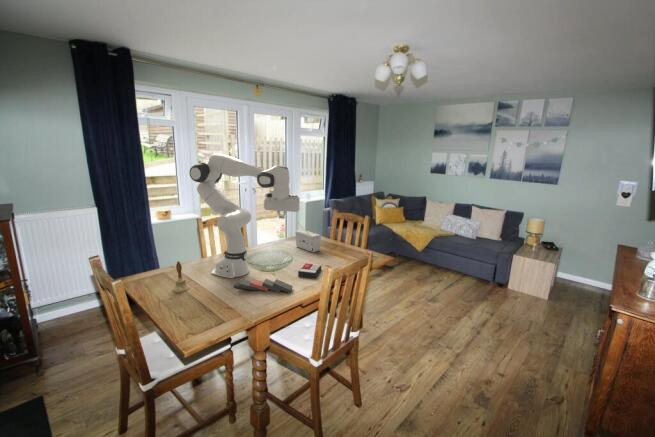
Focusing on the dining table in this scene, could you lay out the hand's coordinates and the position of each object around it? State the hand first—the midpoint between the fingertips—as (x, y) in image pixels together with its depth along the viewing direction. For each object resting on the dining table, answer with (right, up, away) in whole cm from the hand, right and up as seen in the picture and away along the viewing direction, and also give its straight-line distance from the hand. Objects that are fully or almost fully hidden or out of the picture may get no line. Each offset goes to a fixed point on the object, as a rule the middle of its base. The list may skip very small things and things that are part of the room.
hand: (281, 218), depth 176 cm
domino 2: (-13, -38, -6) cm, 40 cm away
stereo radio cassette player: (+11, -24, +62) cm, 68 cm away
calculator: (+15, -35, +18) cm, 42 cm away
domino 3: (-7, -38, -6) cm, 39 cm away
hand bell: (-54, -39, -8) cm, 67 cm away
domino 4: (0, -39, -7) cm, 39 cm away
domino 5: (+6, -39, -7) cm, 40 cm away
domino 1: (-16, -38, -4) cm, 42 cm away
